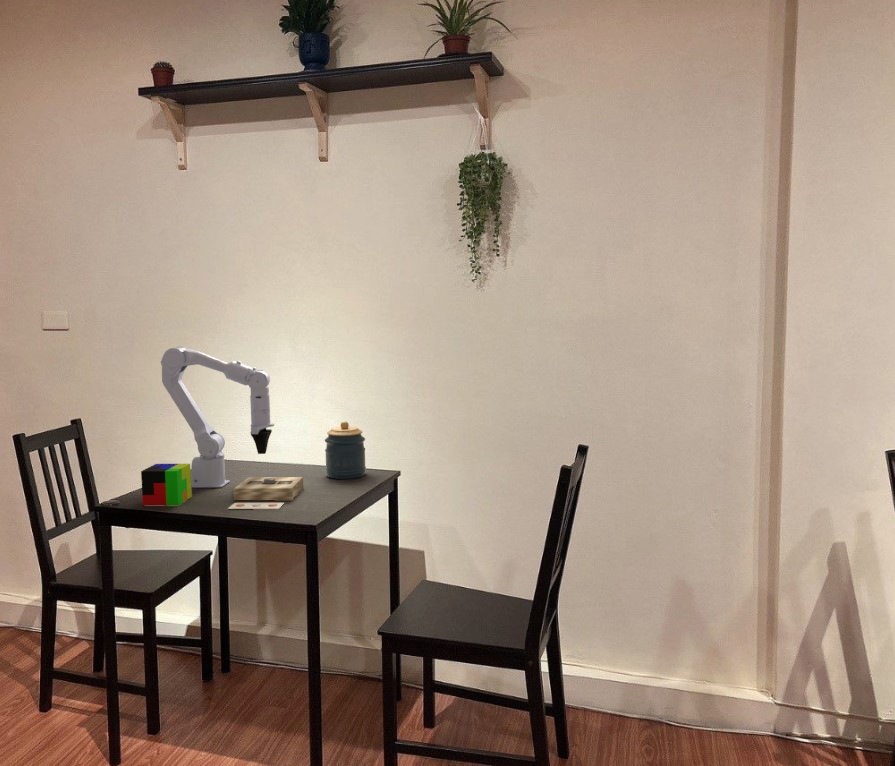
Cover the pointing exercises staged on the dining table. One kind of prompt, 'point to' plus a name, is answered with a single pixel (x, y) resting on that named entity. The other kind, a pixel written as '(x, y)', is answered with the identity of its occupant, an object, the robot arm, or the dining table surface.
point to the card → (256, 506)
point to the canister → (345, 452)
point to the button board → (268, 489)
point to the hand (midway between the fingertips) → (262, 453)
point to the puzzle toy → (166, 484)
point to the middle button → (269, 481)
